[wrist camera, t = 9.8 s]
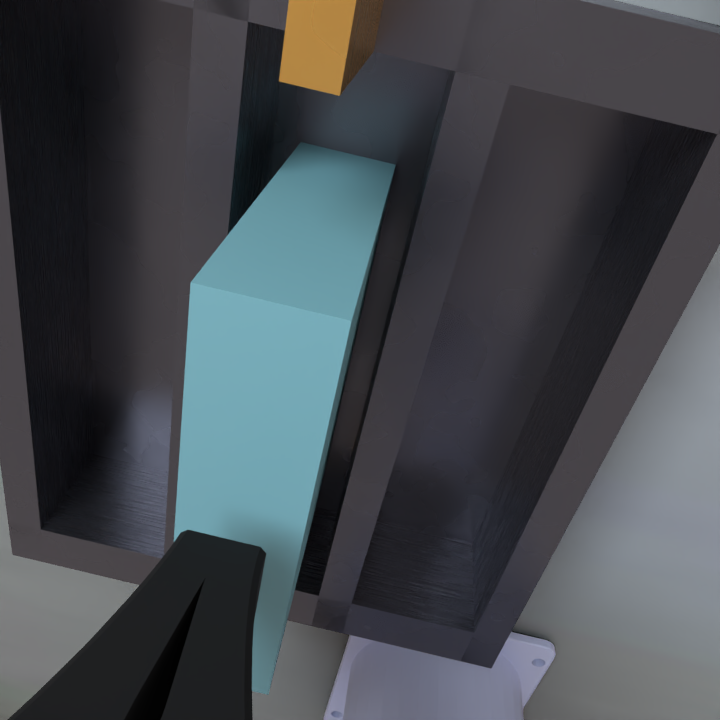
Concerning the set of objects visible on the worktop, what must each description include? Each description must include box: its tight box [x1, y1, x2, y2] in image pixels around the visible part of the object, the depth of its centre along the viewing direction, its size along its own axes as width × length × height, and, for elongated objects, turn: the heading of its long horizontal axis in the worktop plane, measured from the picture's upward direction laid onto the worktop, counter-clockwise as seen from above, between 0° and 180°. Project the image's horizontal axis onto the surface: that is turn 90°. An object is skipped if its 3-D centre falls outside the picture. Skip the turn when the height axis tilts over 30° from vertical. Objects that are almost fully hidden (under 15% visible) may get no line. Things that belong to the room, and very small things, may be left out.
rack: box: [0, 0, 720, 668], centre depth 16 cm, size 22×15×8 cm
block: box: [174, 142, 396, 695], centre depth 16 cm, size 10×2×8 cm, turn 169°
